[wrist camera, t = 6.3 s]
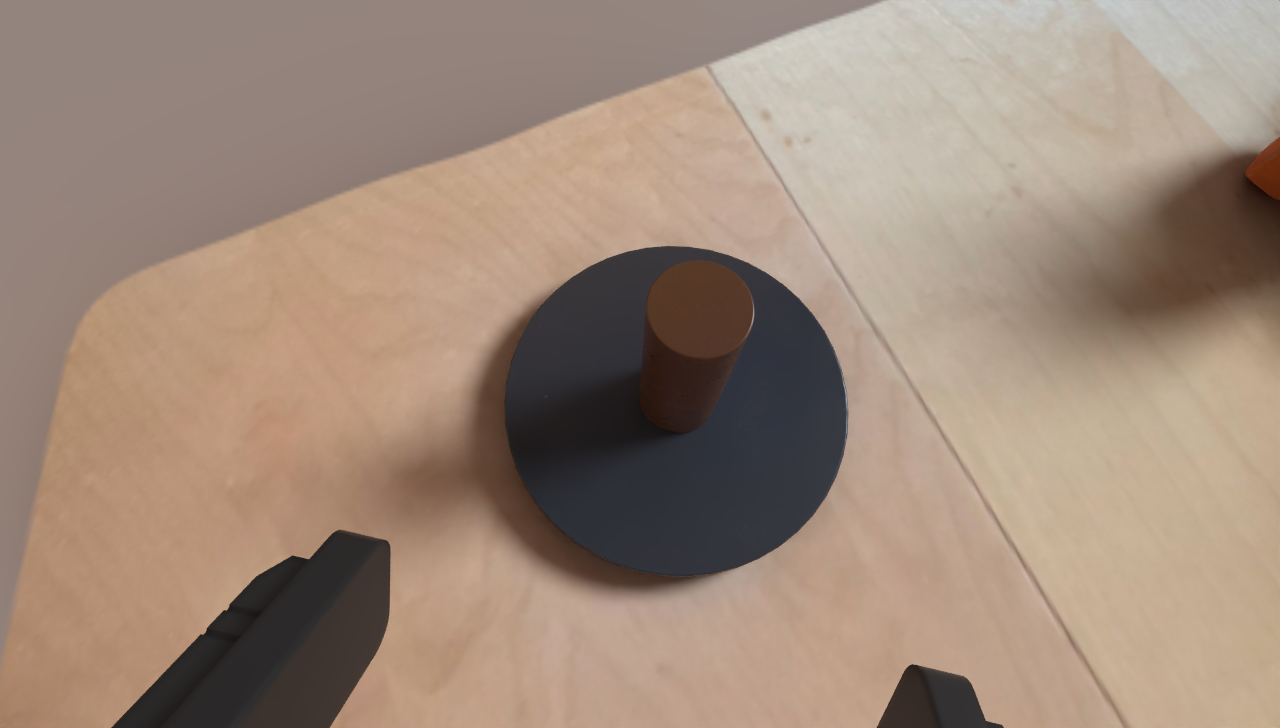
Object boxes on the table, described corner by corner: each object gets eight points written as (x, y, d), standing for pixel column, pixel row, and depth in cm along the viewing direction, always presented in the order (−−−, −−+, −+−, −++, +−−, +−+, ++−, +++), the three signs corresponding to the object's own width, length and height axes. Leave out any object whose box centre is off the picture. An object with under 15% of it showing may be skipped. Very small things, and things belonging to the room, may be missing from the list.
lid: (505, 586, 21) (439, 574, 14) (513, 265, 25) (465, 114, 17) (862, 570, 22) (994, 549, 14) (814, 257, 26) (896, 107, 18)
